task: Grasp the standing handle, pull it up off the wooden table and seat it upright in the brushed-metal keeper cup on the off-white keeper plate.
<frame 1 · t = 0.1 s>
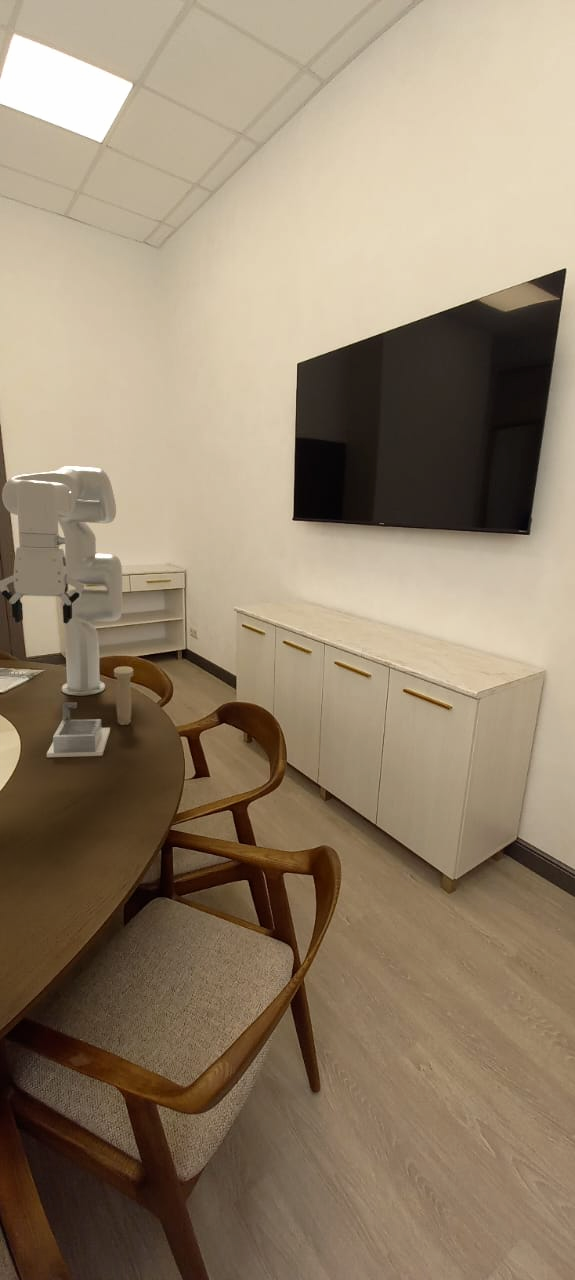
hand: (43, 621, 112), 31 cm above the table, tool pointing down, fingers open, 9 cm apart
keeper: (80, 743, 125), on the table
handle: (124, 724, 139), on the table
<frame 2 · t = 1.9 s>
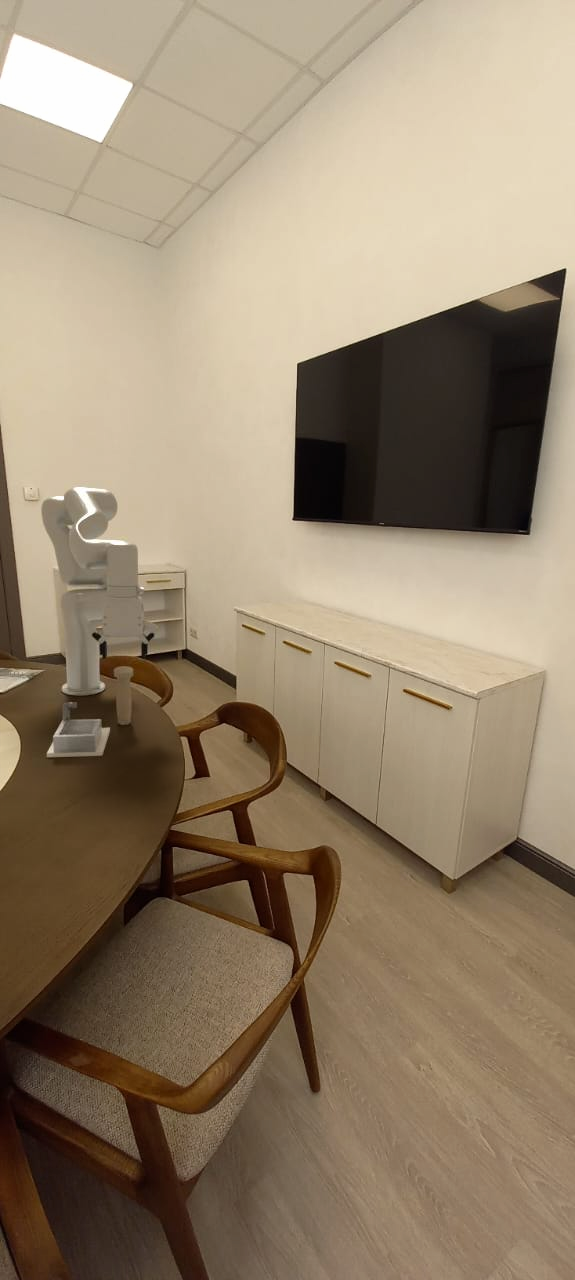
hand: (124, 657, 134), 18 cm above the table, tool pointing down, fingers open, 9 cm apart
nothing on the table moved.
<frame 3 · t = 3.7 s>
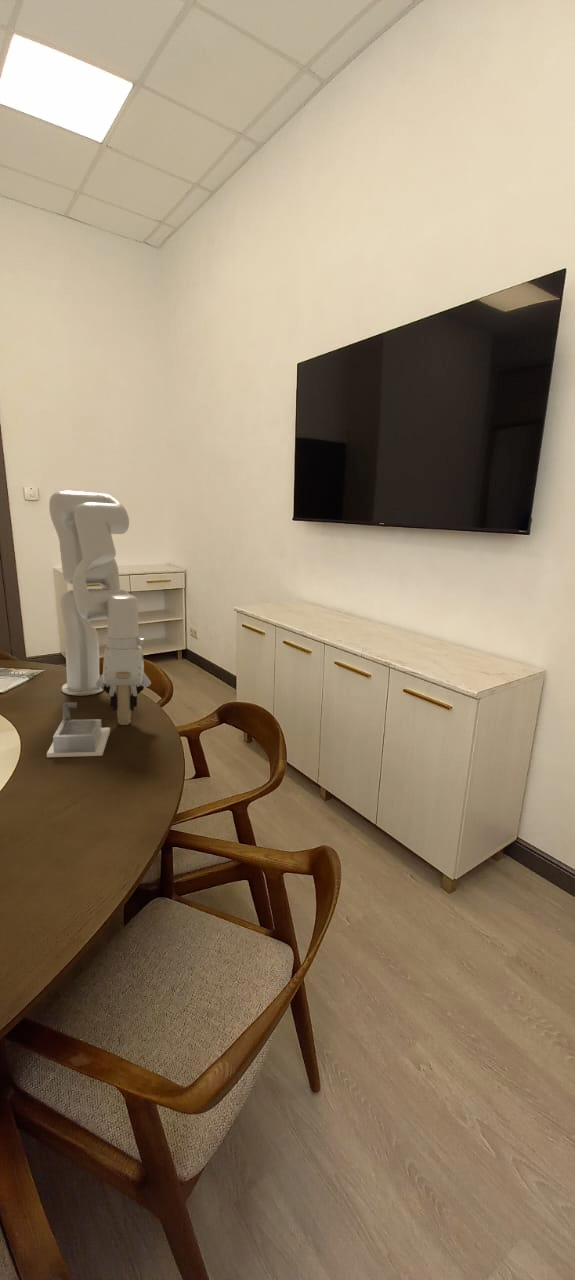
hand: (124, 708, 138), 4 cm above the table, tool pointing down, fingers closed on handle, 3 cm apart
handle: (124, 724, 139), on the table, touching gripper
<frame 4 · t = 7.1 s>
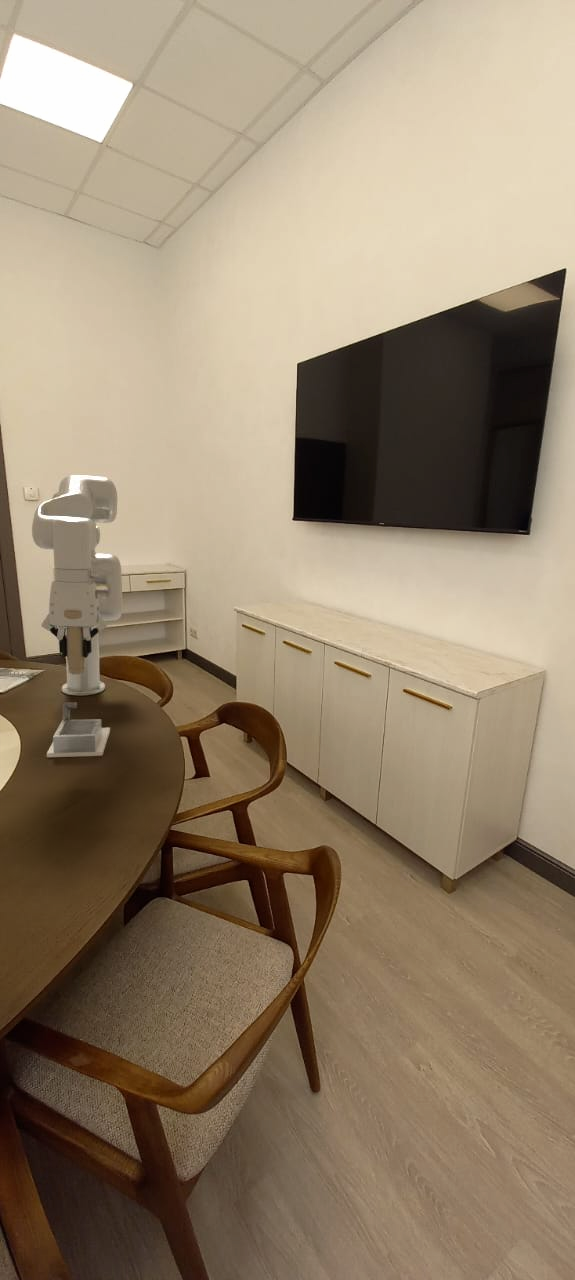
hand: (75, 655, 118), 23 cm above the table, tool pointing down, fingers closed on handle, 3 cm apart
handle: (76, 673, 119), point 18 cm above the table, touching gripper
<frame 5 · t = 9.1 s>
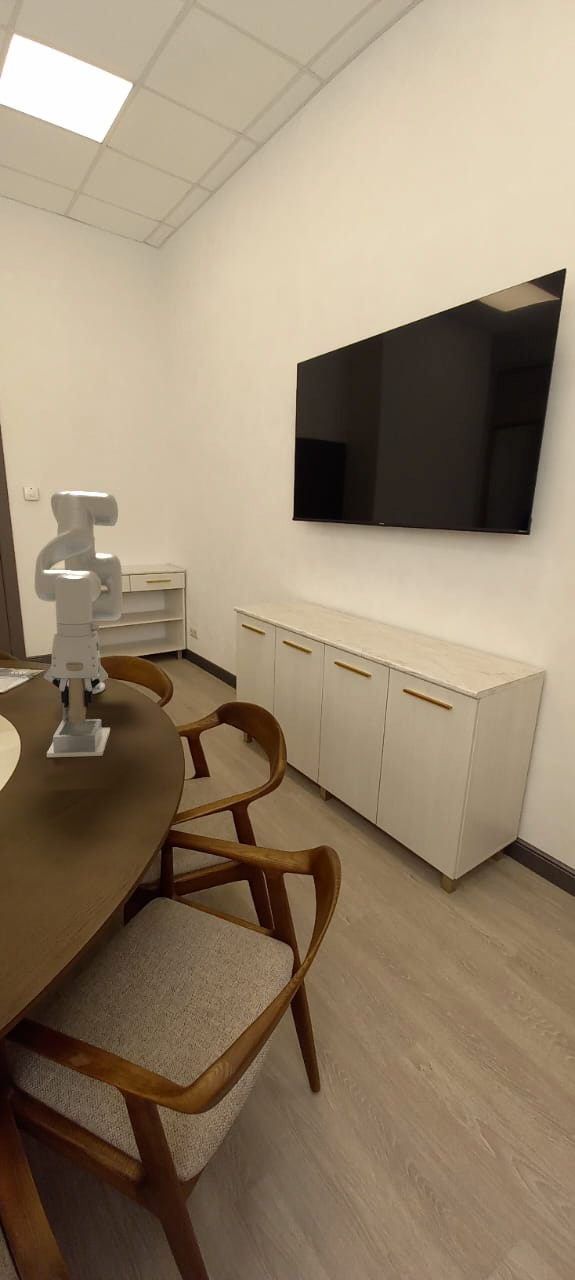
hand: (77, 704, 121), 11 cm above the table, tool pointing down, fingers closed on handle, 3 cm apart
handle: (78, 722, 122), point 6 cm above the table, touching gripper
when the fingers open (7 cm above the table, at t = 10.3 s): handle drops 1 cm, resting on keeper.
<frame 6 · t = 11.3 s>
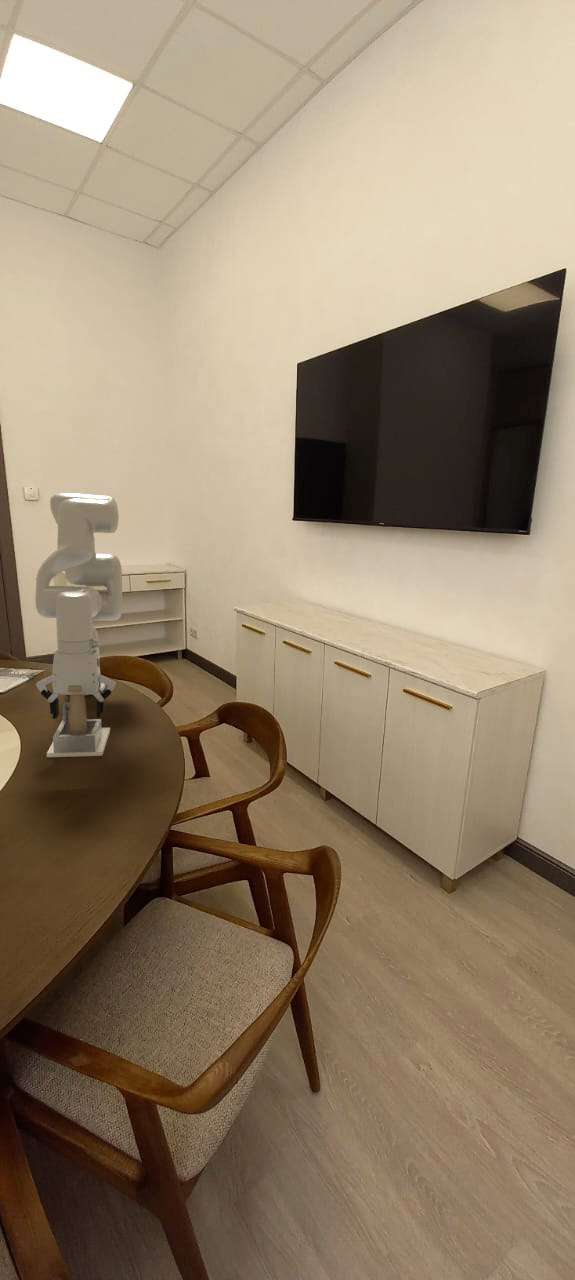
hand: (77, 716, 122), 8 cm above the table, tool pointing down, fingers open, 9 cm apart
handle: (78, 743, 124), point 1 cm above the table, touching keeper
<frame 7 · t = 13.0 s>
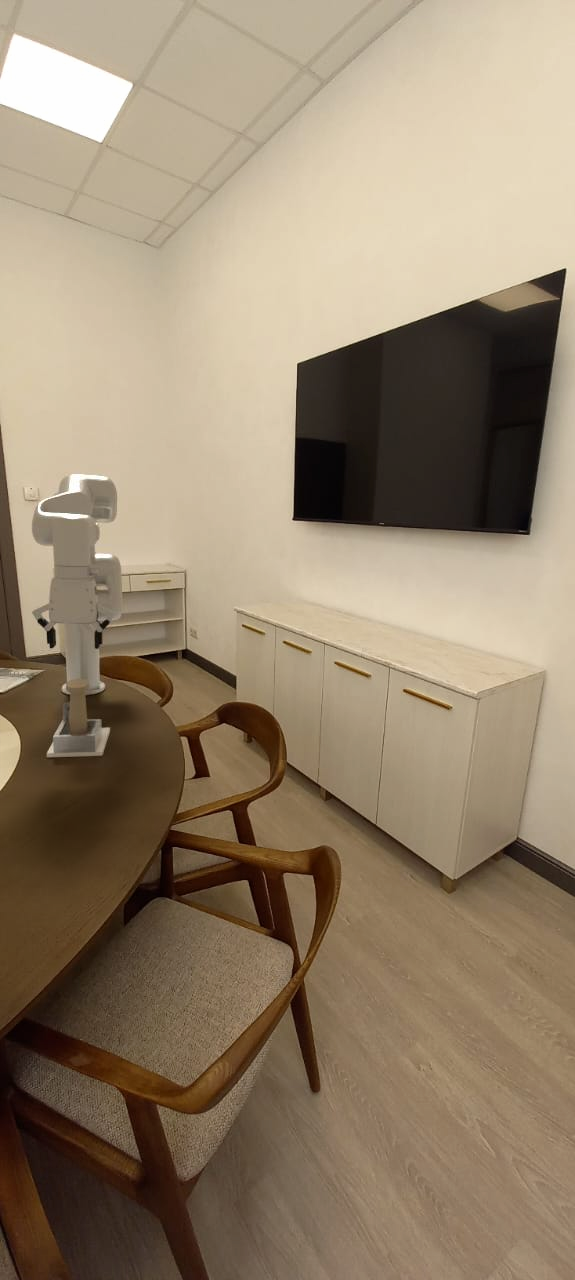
hand: (75, 647, 119), 24 cm above the table, tool pointing down, fingers open, 9 cm apart
nothing on the table moved.
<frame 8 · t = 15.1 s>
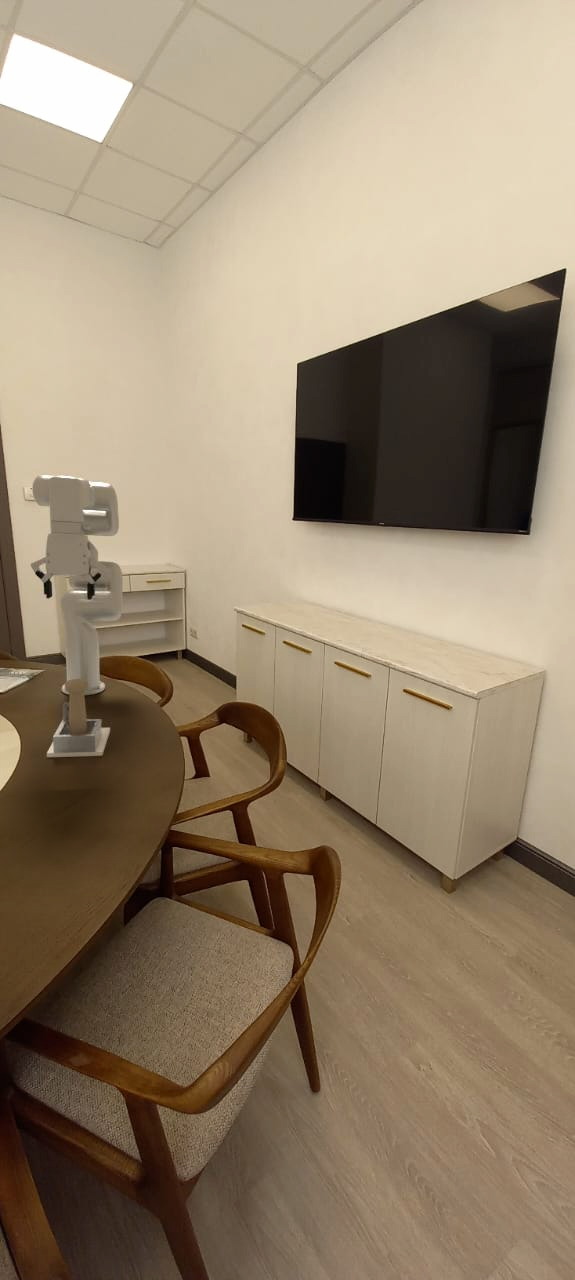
hand: (69, 598, 130), 33 cm above the table, tool pointing down, fingers open, 9 cm apart
nothing on the table moved.
at the end: handle 0.1 cm from the target spot on the keeper, point 0.8 cm above the keeper's base; handle tilted 0°; the gripper is holding nothing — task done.
